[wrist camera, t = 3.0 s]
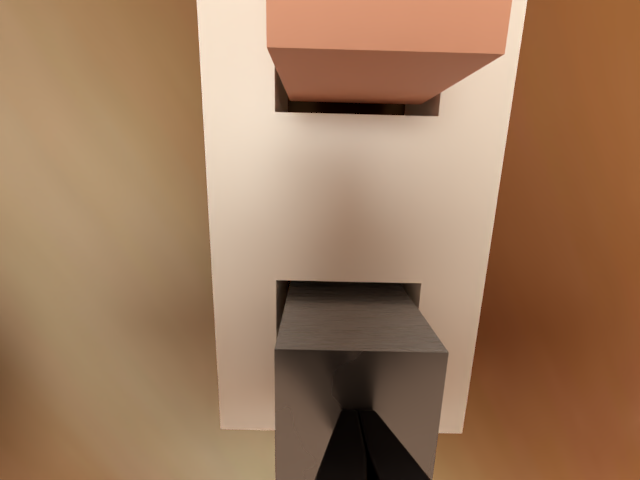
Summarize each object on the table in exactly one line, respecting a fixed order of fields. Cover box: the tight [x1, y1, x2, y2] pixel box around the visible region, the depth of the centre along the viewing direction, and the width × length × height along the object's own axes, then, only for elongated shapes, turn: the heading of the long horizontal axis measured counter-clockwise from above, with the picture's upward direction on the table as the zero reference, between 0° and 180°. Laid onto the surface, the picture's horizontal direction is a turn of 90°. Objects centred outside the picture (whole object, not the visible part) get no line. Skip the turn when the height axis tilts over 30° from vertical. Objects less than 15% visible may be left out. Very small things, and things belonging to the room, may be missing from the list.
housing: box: [197, 0, 527, 433], centre depth 12 cm, size 17×9×4 cm, turn 179°
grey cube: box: [274, 280, 449, 480], centre depth 10 cm, size 4×4×4 cm
